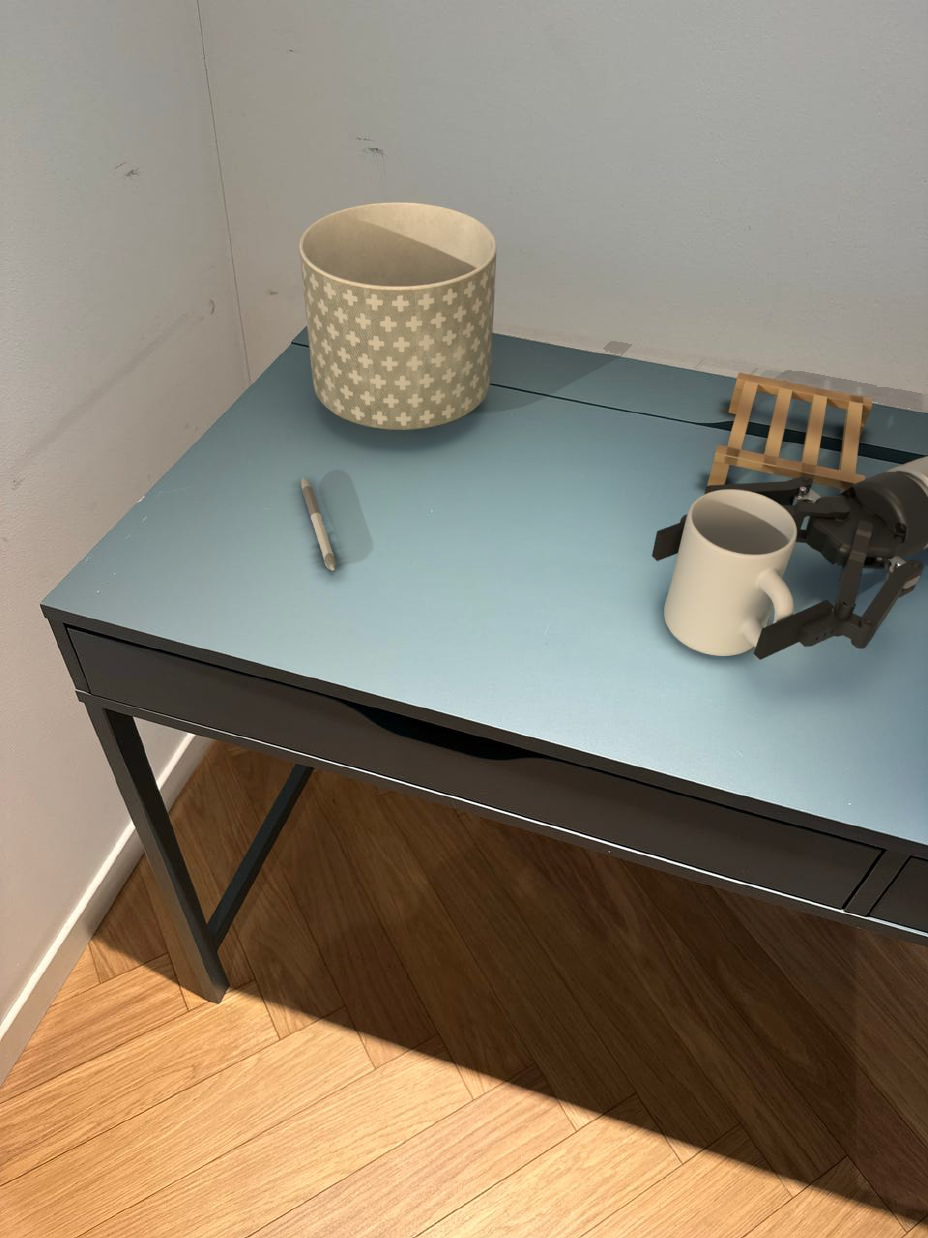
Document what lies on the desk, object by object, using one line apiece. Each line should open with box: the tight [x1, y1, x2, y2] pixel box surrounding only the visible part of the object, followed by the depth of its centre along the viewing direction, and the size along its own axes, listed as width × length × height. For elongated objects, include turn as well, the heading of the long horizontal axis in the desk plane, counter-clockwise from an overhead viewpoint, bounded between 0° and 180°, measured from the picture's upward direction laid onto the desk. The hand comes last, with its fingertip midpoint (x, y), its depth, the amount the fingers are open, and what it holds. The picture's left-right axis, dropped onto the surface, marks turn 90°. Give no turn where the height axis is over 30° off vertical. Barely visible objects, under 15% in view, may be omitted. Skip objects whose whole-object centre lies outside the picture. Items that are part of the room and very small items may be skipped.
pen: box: [300, 476, 337, 572], centre depth 90 cm, size 1×14×1 cm, turn 17°
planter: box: [298, 201, 498, 431], centre depth 99 cm, size 19×19×18 cm
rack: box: [706, 372, 874, 494], centre depth 99 cm, size 16×14×4 cm
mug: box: [663, 489, 797, 657], centre depth 77 cm, size 12×8×11 cm
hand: (706, 593), depth 75 cm, fingers closed on mug, 12 cm apart
